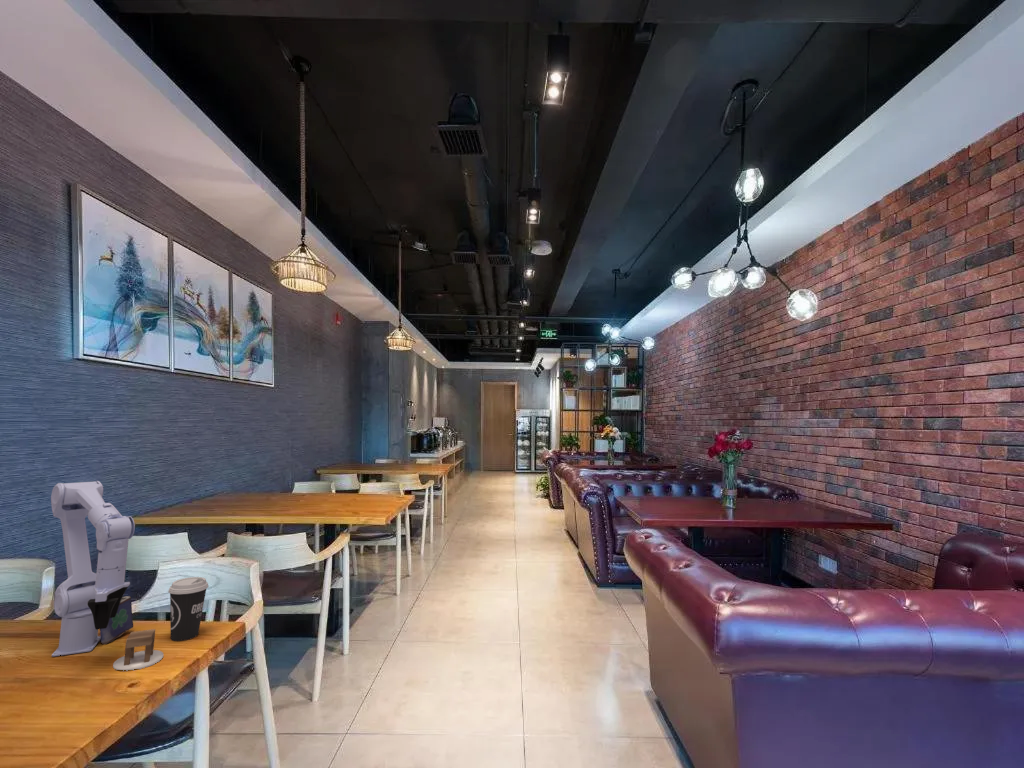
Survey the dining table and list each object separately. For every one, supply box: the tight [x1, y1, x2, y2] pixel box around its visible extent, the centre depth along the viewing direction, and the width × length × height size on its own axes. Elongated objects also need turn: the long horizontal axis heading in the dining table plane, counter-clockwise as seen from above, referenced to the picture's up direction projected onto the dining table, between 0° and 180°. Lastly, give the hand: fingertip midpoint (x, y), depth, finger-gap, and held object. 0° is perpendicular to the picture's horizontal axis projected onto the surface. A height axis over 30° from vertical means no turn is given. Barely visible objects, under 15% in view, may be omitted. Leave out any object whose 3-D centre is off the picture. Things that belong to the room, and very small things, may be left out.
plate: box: [112, 649, 164, 672], centre depth 121 cm, size 10×10×1 cm
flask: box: [99, 595, 134, 645], centre depth 135 cm, size 9×3×11 cm, turn 175°
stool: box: [124, 628, 156, 666], centre depth 122 cm, size 5×5×6 cm
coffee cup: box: [167, 576, 209, 642], centre depth 137 cm, size 10×10×15 cm
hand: (105, 622), depth 121 cm, fingers open, 7 cm apart
